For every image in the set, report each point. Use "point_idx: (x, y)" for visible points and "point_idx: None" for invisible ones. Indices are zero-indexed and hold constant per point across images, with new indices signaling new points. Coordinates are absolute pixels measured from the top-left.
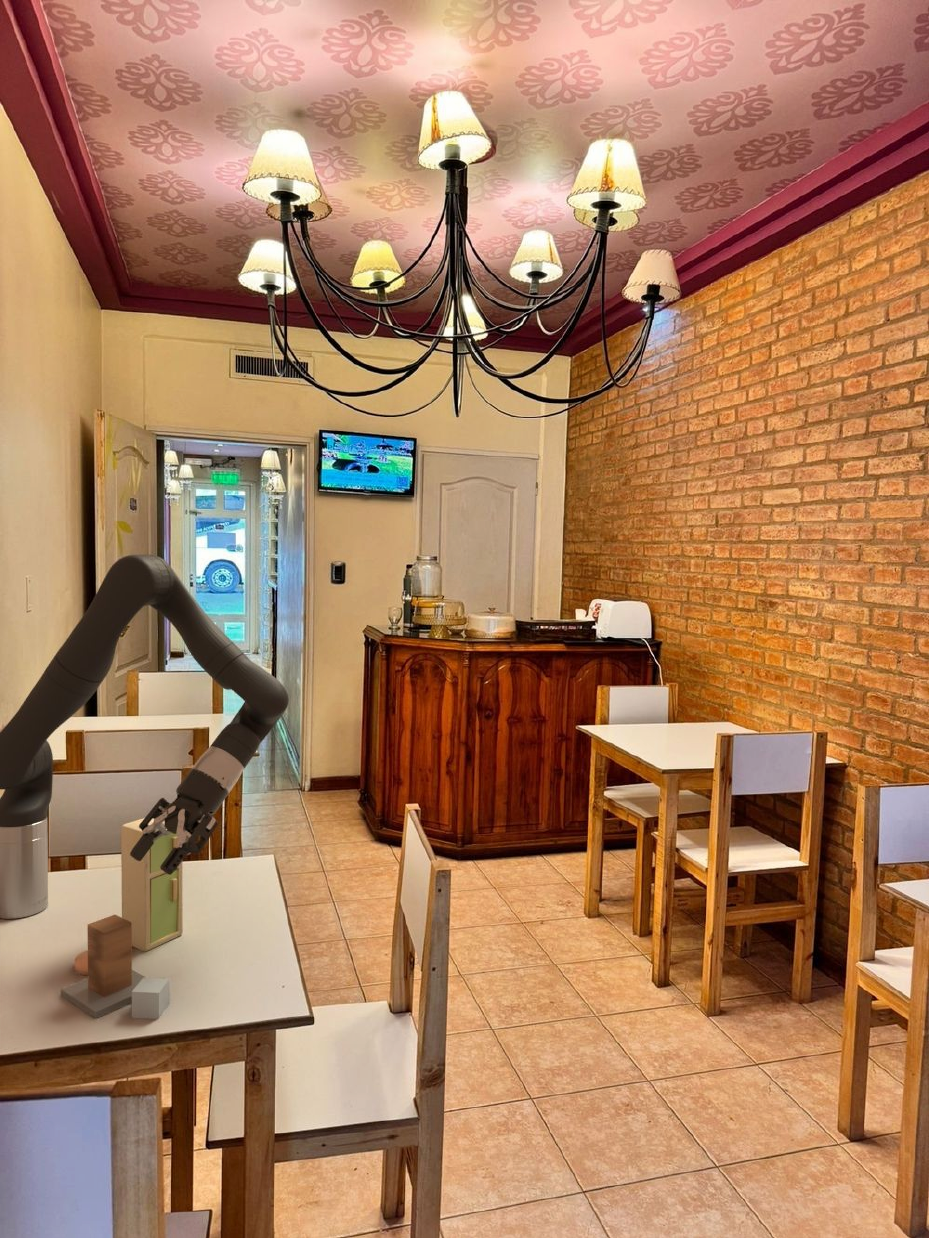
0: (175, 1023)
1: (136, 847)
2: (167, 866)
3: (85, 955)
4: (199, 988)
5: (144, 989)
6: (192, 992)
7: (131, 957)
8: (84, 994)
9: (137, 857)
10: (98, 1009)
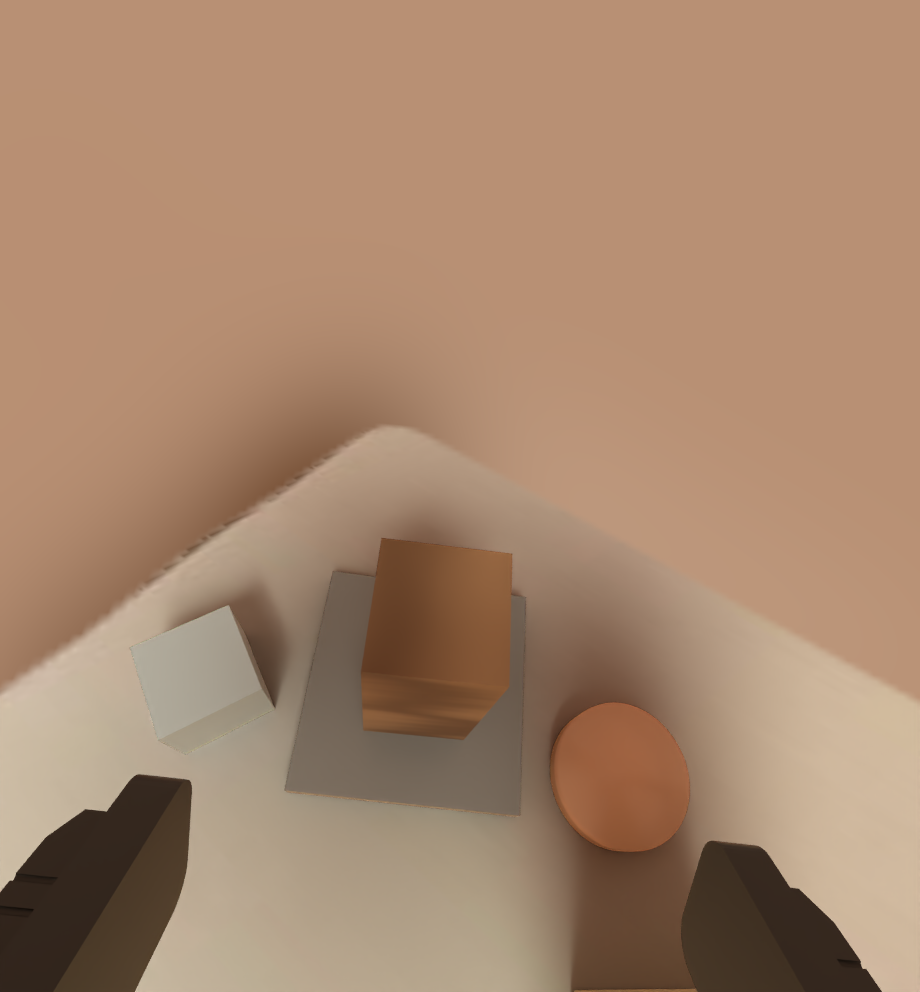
0: (86, 681)
1: (768, 912)
2: (95, 820)
3: (658, 761)
4: None
5: (196, 635)
6: None
7: (363, 710)
8: None
9: (697, 908)
10: (337, 582)
